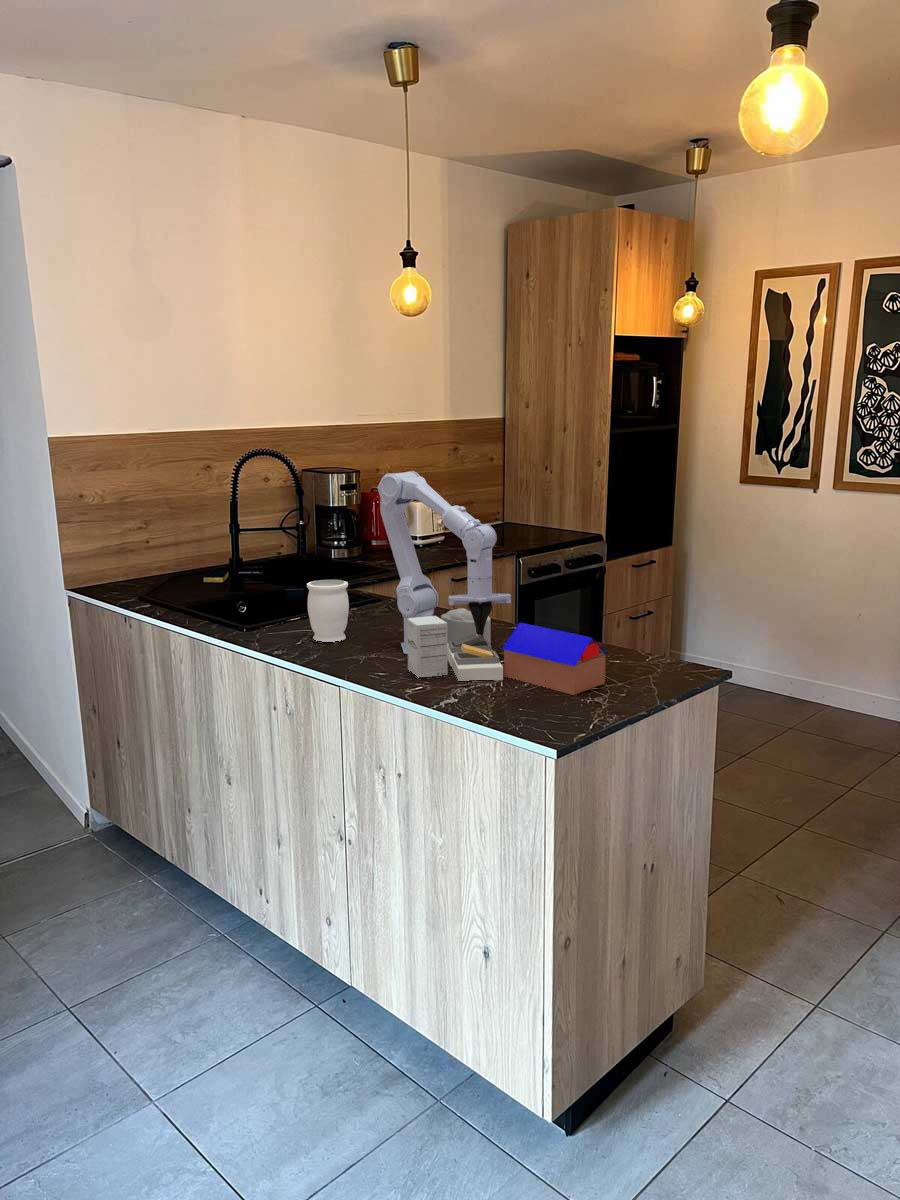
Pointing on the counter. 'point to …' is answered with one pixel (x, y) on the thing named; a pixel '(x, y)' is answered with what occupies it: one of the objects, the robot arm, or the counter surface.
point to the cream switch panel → (474, 663)
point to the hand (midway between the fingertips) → (479, 633)
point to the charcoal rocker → (469, 640)
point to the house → (554, 659)
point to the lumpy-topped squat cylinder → (463, 625)
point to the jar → (328, 609)
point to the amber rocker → (476, 651)
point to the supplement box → (427, 646)
